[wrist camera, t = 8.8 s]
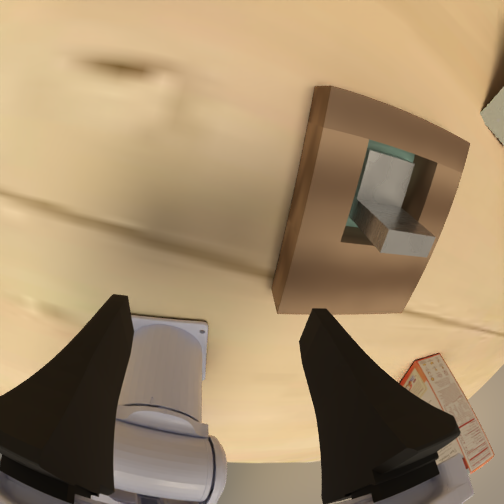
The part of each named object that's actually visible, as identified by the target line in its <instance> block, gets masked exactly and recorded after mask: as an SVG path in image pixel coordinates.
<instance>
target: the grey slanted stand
mask: <svg viewBox="0 0 504 504" xmlns="http://www.w3.org/2000/svg"><path fill="white" fill-rule="evenodd" d="M480 114H481V116H482V118H483V120H484V122H485V125H486V126H487V127H489V129H490V130H491V131H492V132H493V134H495V136H496V138H499V141H500V142H502V144H503V145H504V87H503V88H502V89H501V90H500V92H499V93H498V94H497V95H496V96H495V97H494V99H492V101H491V102H490V103H489V104H487V107H485V108H484V109H483V111H481V112H480Z"/></svg>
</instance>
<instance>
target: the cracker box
mask: <svg viewBox="0 0 504 504" xmlns="http://www.w3.org/2000/svg"><path fill="white" fill-rule="evenodd" d="M400 385H402V386H403V387H404V388H406V389H407V390H409V391H410V392H411V393H413V394H414V395H416V396H417V397H419V398H420V399H422V400H424V401H425V402H427V403H429V404H431V405H432V406H434V407H436V408H438V409H440V410H442V411H444V412H447V413H449V414H451V415H453V416H454V418H455V420H456V422H457V424H458V427H459V429H460V431H461V433H460V435H459V436H458V437H457V438H456V439H455V440H453V441H452V442H451V443H449V444H448V445H446V446H445V447H443V448H442V449H440V450H439V451H437V453H438V455H439V458H438V459H437V460H435V461H436V464H437V465H438V464H439V463H441V462H443V461H445V460H447V459H449V458H450V457H452V456H454V455H456V454H457V453H460V454H461V457H462V459H463V462H464V465H465V468H466V470H467V473H468V475H470V474H471V473H473V472H475V471H476V470H477V469H479V468H481V467H482V466H483V465H485V464H486V463H487V462H489V461H490V460H491V459H492V458H493V457H494V452H493V450H492V448H491V446H490V443H489V442H488V439H487V437H486V435H485V433H484V431H483V429H482V427H481V425H480V423H479V421H478V419H477V417H476V415H475V413H474V411H473V409H472V408H471V406H470V404H469V402H468V400H467V398H466V396H465V394H464V393H463V391H462V389H461V387H460V386H459V384H458V382H457V381H456V379H455V377H454V375H453V374H452V372H451V371H450V369H449V367H448V366H447V364H446V362H445V361H444V359H443V357H442V356H441V354H440V353H438V354H435V355H432V356H429V357H426V358H423V359H420V360H416V361H414V363H413V365H412V366H411V368H410V369H409V371H408V372H407V374H406V375H405V377H404V378H403V380H402V381H401V382H400Z"/></svg>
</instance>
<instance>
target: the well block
mask: <svg viewBox="0 0 504 504" xmlns="http://www.w3.org/2000/svg"><path fill="white" fill-rule="evenodd" d="M469 146H470V143H469V142H467V141H465V140H463V139H462V138H460V137H458V136H456V135H454V134H452V133H451V132H449V131H447V130H445V129H443V128H441V127H439V126H437V125H435V124H433V123H430V122H428V121H426V120H424V119H422V118H420V117H417V116H415V115H413V114H410V113H408V112H406V111H403V110H401V109H398V108H396V107H393V106H391V105H388V104H386V103H383V102H380V101H377V100H375V99H372V98H369V97H366V96H363V95H360V94H357V93H354V92H351V91H347V90H344V89H341V88H337V87H334V86H316V87H315V89H314V94H313V100H312V105H311V110H310V115H309V120H308V125H307V131H306V136H305V141H304V146H303V150H302V155H301V160H300V165H299V170H298V175H297V179H296V184H295V189H294V193H293V198H292V202H291V207H290V211H289V216H288V220H287V225H286V229H285V234H284V238H283V242H282V247H281V251H280V255H279V260H278V264H277V268H276V272H275V277H274V281H273V285H272V293H273V297H274V302H275V306H276V310H277V314H310V313H311V311H312V308H326V309H327V310H328V311H329V312H330V313H331V314H332V315H336V314H386V313H402V311H403V310H404V308H405V306H406V304H407V303H408V301H409V299H410V297H411V295H412V293H413V291H414V289H415V288H416V286H417V284H418V282H419V280H420V278H421V276H422V274H423V272H424V270H425V268H426V265H427V263H428V261H429V259H430V257H431V255H432V252H433V250H434V248H435V246H436V243H437V241H438V239H439V236H440V234H441V231H442V229H443V227H444V224H445V221H446V219H447V216H448V214H449V211H450V208H451V205H452V203H453V200H454V197H455V194H456V191H457V188H458V185H459V182H460V179H461V175H462V172H463V169H464V165H465V162H466V158H467V154H468V150H469ZM367 148H371V149H374V150H378V151H381V152H385V153H388V154H391V155H394V156H398V157H401V158H404V159H406V160H408V161H410V162H412V163H414V164H415V165H414V168H413V172H412V175H411V178H410V182H409V185H408V188H407V191H406V194H405V197H404V200H403V203H402V206H401V208H402V209H403V210H404V211H406V212H407V213H408V214H409V215H411V216H412V217H413V218H414V219H415V220H417V221H418V222H419V223H420V224H421V225H423V226H424V227H425V228H426V229H427V230H428V231H429V232H431V233H432V234H433V235H434V236H435V237H436V238H435V240H434V243H433V245H432V247H431V250H430V252H429V254H428V256H427V257H417V256H408V255H398V254H388V253H380V252H379V251H378V250H377V248H376V247H375V246H374V245H373V244H372V242H371V241H370V240H369V239H368V238H367V237H366V235H365V234H364V233H363V232H362V231H361V230H360V229H359V227H358V226H357V225H356V224H355V223H354V222H353V221H352V219H351V218H350V217H349V213H350V209H351V206H352V203H353V199H354V196H355V192H356V189H357V185H358V181H359V178H360V174H361V170H362V166H363V163H364V159H365V155H366V151H367Z"/></svg>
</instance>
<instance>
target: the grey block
mask: <svg viewBox="0 0 504 504" xmlns="http://www.w3.org/2000/svg"><path fill="white" fill-rule="evenodd" d="M414 165H415V164H414V163H412V162H410V161H408V160H406V159H404V158H401V157H398V156H394V155H391V154H388V153H385V152H381V151H378V150H374V149H371V148H367V151H366V155H365V159H364V163H363V166H362V170H361V174H360V178H359V181H358V185H357V189H356V192H355V196H354V199H353V203H352V206H351V209H350V213H349V217H350V218H351V219H352V221H353V222H354V223H355V224H356V225H357V226H358V227H359V229H360V230H361V231H362V232H363V233H364V234H365V235H366V237H367V238H368V239H369V240H370V241H371V242H372V244H373V245H374V246H375V247H376V248H377V250H378V251H379V252H380V253H388V254H398V255H408V256H417V257H427V256H428V254H429V252H430V250H431V247H432V245H433V243H434V240H435V238H436V237H435V236H434V235H433V234H432V233H431V232H429V231H428V230H427V229H426V228H425V227H424V226H423V225H421V224H420V223H419V222H418V221H417V220H415V219H414V218H413V217H412V216H411V215H409V214H408V213H407V212H406V211H404V210H403V209H402V208H401V206H402V203H403V200H404V197H405V194H406V191H407V188H408V185H409V182H410V178H411V175H412V172H413V168H414Z"/></svg>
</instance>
